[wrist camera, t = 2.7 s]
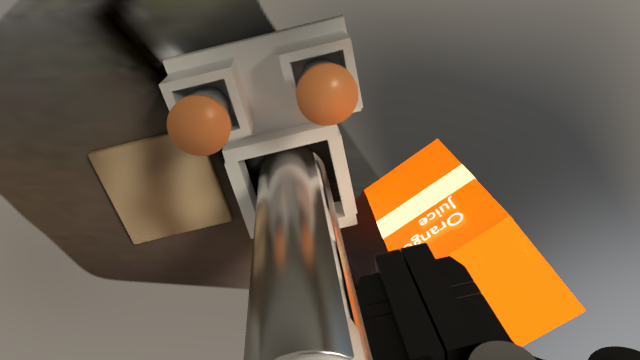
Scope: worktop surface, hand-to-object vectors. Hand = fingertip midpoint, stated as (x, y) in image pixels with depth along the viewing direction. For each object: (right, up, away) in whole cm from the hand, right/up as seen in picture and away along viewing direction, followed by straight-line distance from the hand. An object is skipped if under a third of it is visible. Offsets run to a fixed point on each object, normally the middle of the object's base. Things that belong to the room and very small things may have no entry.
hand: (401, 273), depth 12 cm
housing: (-6, +7, +27) cm, 29 cm away
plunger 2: (-2, +11, +21) cm, 24 cm away
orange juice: (+8, +2, +31) cm, 32 cm away
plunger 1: (-11, +8, +21) cm, 25 cm away
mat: (-17, +2, +28) cm, 33 cm away
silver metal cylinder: (-5, +3, +29) cm, 30 cm away
